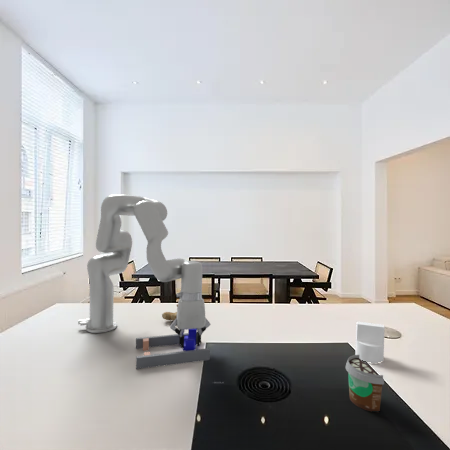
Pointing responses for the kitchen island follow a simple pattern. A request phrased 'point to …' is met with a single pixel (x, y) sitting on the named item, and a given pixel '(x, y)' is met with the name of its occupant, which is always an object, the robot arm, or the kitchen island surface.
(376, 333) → the cylinder with rectangular tab
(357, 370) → the food container
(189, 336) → the cable clip
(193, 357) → the guide channel
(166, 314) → the ginger root
